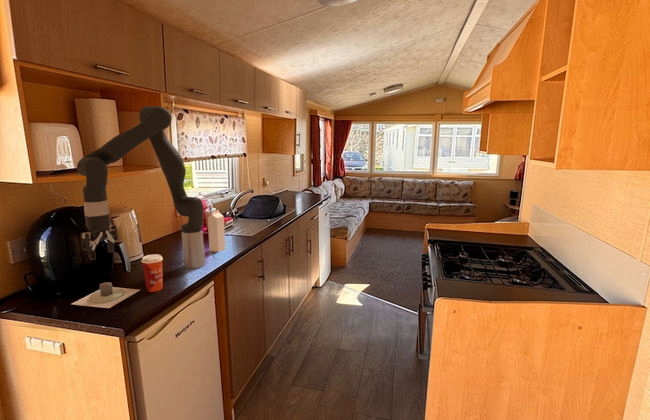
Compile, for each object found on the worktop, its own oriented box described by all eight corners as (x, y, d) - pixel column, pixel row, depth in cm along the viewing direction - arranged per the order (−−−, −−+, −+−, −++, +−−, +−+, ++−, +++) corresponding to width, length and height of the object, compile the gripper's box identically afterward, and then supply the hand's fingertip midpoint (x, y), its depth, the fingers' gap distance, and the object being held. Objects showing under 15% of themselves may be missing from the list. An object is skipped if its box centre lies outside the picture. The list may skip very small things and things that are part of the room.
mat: (105, 287, 142) (105, 286, 142) (140, 291, 140) (140, 289, 139) (70, 305, 127) (70, 304, 127) (109, 309, 124) (109, 308, 124)
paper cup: (156, 295, 136) (152, 260, 133) (139, 293, 138) (136, 258, 135) (169, 287, 143) (167, 254, 141) (154, 285, 145) (151, 252, 143)
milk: (225, 249, 195) (223, 210, 190) (218, 252, 189) (216, 212, 185) (216, 248, 197) (214, 209, 193) (209, 251, 191) (207, 211, 187)
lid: (105, 289, 139) (104, 277, 138) (130, 291, 138) (129, 279, 137) (82, 301, 129) (80, 289, 128) (108, 304, 127) (107, 291, 126)
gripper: (103, 209, 135) (108, 250, 138) (71, 216, 121) (76, 261, 124) (121, 210, 133) (125, 251, 136) (89, 217, 119) (95, 263, 123)
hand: (102, 256), depth 130 cm, fingers open, 8 cm apart
